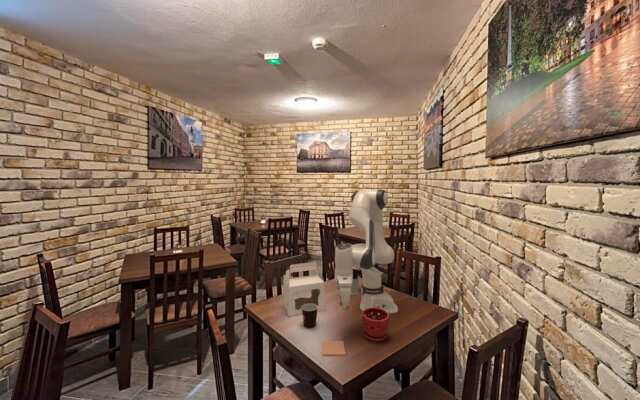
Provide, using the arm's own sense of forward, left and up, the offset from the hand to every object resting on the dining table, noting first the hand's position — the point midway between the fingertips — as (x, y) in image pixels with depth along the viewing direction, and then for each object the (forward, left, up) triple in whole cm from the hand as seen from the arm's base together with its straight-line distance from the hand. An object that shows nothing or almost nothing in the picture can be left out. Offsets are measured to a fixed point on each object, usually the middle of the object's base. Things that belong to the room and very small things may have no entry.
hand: (343, 304), depth 140 cm
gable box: (+21, -30, -17) cm, 40 cm away
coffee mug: (+17, -9, -17) cm, 26 cm away
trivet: (+6, +11, -16) cm, 20 cm away
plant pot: (-16, +1, -17) cm, 23 cm away
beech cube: (0, 0, -2) cm, 2 cm away
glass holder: (-9, -54, -17) cm, 57 cm away
